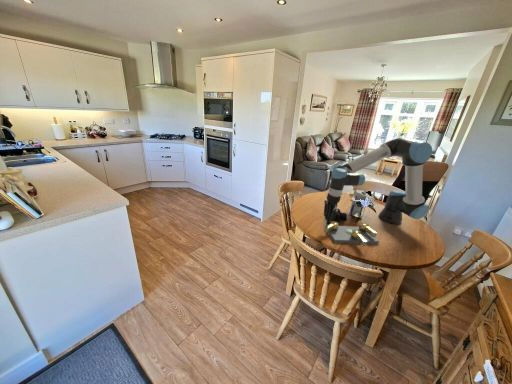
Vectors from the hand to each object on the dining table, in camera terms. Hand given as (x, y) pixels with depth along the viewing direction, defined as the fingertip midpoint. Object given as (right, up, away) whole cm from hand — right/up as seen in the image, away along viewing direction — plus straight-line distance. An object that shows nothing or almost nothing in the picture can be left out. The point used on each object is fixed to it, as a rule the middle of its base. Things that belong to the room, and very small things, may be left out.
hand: (325, 227), depth 132 cm
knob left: (+17, -7, -8) cm, 20 cm away
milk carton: (+32, +5, +28) cm, 43 cm away
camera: (+14, +1, +17) cm, 22 cm away
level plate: (+16, -5, +1) cm, 17 cm away
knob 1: (+3, -2, +1) cm, 4 cm away
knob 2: (+27, -3, +1) cm, 27 cm away
